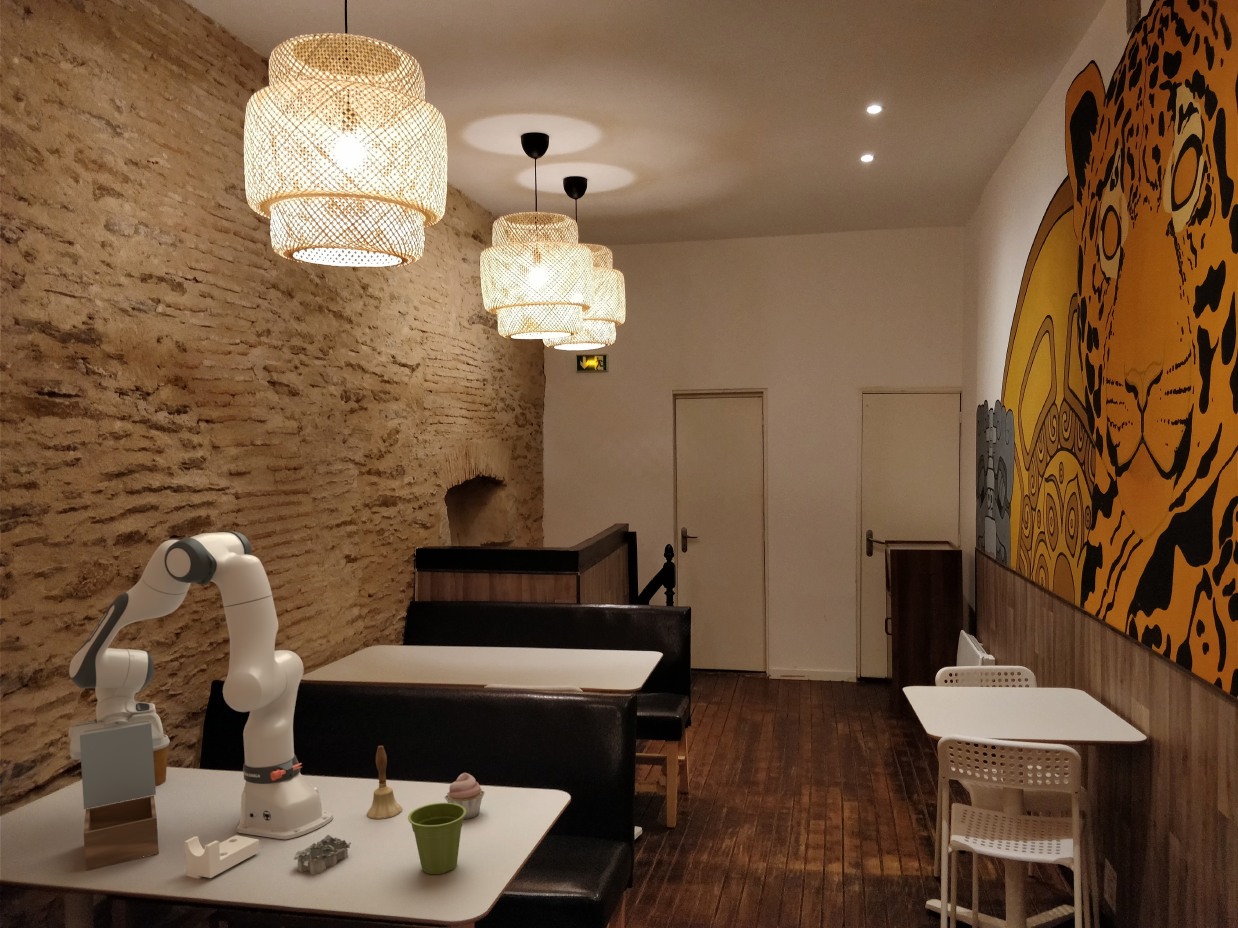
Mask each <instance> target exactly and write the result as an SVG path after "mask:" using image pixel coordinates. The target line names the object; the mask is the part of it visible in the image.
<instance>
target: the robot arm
mask: <svg viewBox="0 0 1238 928" xmlns="http://www.w3.org/2000/svg"><path fill="white" fill-rule="evenodd" d="M251 545H252V544H251V543H250V541H249V540H248V538H247V537H246V536H245V535H244V534H243V533H240V532H239V531H235V530H234V531H232V530H222V531H219V532H218V531H217V532H211V533H210V532H205V533H200V534H196V535H194V536H193V535H192V536H190V537H183V538H182V539H181V538H180V539H169V540H166V541H163V542H162V543H160V545H159V546H158V547H157V549H156V550H155V551H154V553H153V554H152V556H151V557H150V559H149V561H148V562H147V564H146V566H145V569H144V570H143V573H142V574H141V577H140V578H139V580H138V581H137V582H136V584H135V585H133V587H131V588H130V589H128V590H127V591H126V592H123V593H121V594H118V595H117V596H116V597H115V599H114V600H113V601H112V602H111V603H110V605H109V607H108V608H107V609H106V610H105V612H104V613H103V615H102V616H101V618H100V620H99V621H98V622H97V624H96V626H95V627H94V629H93V630H92V632H91V633H90V634H89V636H88V638H87V639H86V641H85V642H84V643H83V644H82V645H81V647H80V648H79V649H78V650H77V651H76V652H75V654H73V655H74V656H73V657H72V658H71V661H70V664H69V668H68V676H69V679H70V681H72V683H74V684H75V685H76V686H77V687H78V688H80V689H95V692H94V693H95V697H96V699H97V702H96V706H95V714H96V716H95V718H96V719H91V720H86V721H79V722H76V723H75V724H73V725H71V726H70V727H69V729H68V731H67V732H68V738H69V740H70V743H69V745H70V746H69V755H70V758H71V759H72V760H75V761H76V760H78V761H79V760H81V748H80V735H84V734H89V733H95V732H101V731H107V730H113V729H119V728H125V727H131V726H137V725H143V724H148V723H151V727H152V742H153V746H156V745H160V744H161V743H162V742H163V741H164V735H165V734H164V729H163V724H162V720H161V718H160V716H159V715H158V713H157V710H156V705H155V703H152V702H144V701H143V702H142V701H136V700H135V695H136V693H140V692H141V691H142V690H143V689H145V688H146V687H147V686H149V684H150V683H151V682H152V680H153V678H154V675H155V661H154V659H153V658H152V655H151V653H149V652H148V651H147V650H141V649H130V648H126V649H125V648H111V647H109V646H110V645H111V643H112V642H113V640H114V639H115V637H116V635H117V634H118V633H119V632H120V631H121V629H123V628H124V627H126V626H128V625H130V624H133V623H136V622H140V621H145V620H151V619H157V618H161V617H165V616H167V615H170V614H172V613H174V612H175V611H176V610H177V609H178V608H179V607H180V606H181V605H182V604H183V602H184V600H185V598H186V597H187V594H188V592H189V589H190V586H191V584H197V585H202V586H206V585H207V584H209V583H210V582H212V583H213V584H215V585H216V586H217V587H218V589H219V592H220V594H221V595H220V596H221V599H222V604H223V606H222V607H223V610H224V615H225V620H226V625H227V630H228V636H229V661H228V663H229V665H228V670H227V671H228V672H227V676H226V679H225V680H224V682H223V685H222V694H223V695H222V696H223V699H224V701H225V703H226V704H227V706H229V707H230V709H232V710H234V711H236V712H240V713H247V712H249V716H248V718H247V721H246V723H245V725H244V729H243V733H242V736H243V748H244V749H243V751H244V762H243V765H242V766H243V767H242V773H243V780H244V782H245V783H244V787H243V790H242V792H241V801H240V823H239V824H238V826H237V827H236V832H237V833H239V834H244V835H245V834H246V835H251V836H259V837H266V838H271V839H276V840H277V839H279V840H290V839H293V838H298V837H300V836H303V835H307V834H309V833H311V832H313V831H315V830H318V829H319V828H321V827H323V826H326V825H327V824H329V823H330V822H331V821H332V820H333V819H334V815H333V814H334V813H332V812H330V811H328V810H326V809H324V808H323V807H322V800H321V796H320V794H319V790H318V787H316V786H312V785H311V784H310V782H309V781H308V780H307V779H306V778H305V776H303V775H302V774H301V769H302V768H303V766H301V765H302V764H303V763H302V762H300V763H299V761H298V758H297V755H296V754H295V748H294V746H295V745H294V715H295V709H296V708H295V707H296V701H297V696H298V691H299V686H300V684H301V683H300V682H301V680H302V678H303V675H304V671H305V670H304V663H303V661H302V659H301V657H300V656H299V654H297V653H296V652H294V651H291V650H289V649H282V650H281V649H279V650H275V645H276V637H277V634H278V631H279V620H278V615H277V611H276V607H275V603H274V602H275V601H274V597H273V592H272V588H271V584H270V582H269V578H268V575H267V572H266V571H265V568H264V566H263V564H262V562H261V560H260V559H259V558H258V556H257V557H256V556H255V555H252V547H251ZM163 734H164V735H163Z"/></svg>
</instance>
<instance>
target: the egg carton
mask: <svg viewBox="0 0 1238 928" xmlns="http://www.w3.org/2000/svg"><path fill="white" fill-rule="evenodd" d="M351 845H352V843H351V842H348V843H347V841H346V840H345V839H341V838H338V837H334V836H332V835H330V834H327V835H326V836H324V838H322V839H320V841H319V840H318V841H316V843H315V842H313V843H312V844H311V845H310V846H308V847H306V848H305V849H303V850H298V851H296V852H295V855H294V857H293V860H294V861H296V860H297V870H298V872H301V873H302V872H305V871H310V875H316V874H319V873H320V874H321V873H324V872H325V871H326V868H328V867H331V866H332V867H334V866H336V865H337V861H339V860H346V859H348V858H349V855H348V853H349V852H348V849H350V848H351Z"/></svg>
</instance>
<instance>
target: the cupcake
mask: <svg viewBox="0 0 1238 928" xmlns="http://www.w3.org/2000/svg"><path fill="white" fill-rule="evenodd" d="M448 789H449V792H446V795H445V796H444V799H445V801H446V803H455V804H459V805H461V806H463V807H464V808H465V809H466V814H465V816H464V817H463V820H467V819H471V818H474V817H477V816H478V815H479V813H480V810H481V805H482V799H483V798H484V795H485V793H486V792H485V791H484V790H483V789H482V788H481V785H480V784H479V782H478V781H476V778H475V777H474V776H473V775H471V774H470V773H467V772H463V773H461V774H460V775H458V777H457V778H456V780H455V781H453V782H452V783H451V784H450V785H449V788H448Z"/></svg>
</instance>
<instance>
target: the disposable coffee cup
mask: <svg viewBox="0 0 1238 928" xmlns="http://www.w3.org/2000/svg"><path fill="white" fill-rule="evenodd" d="M163 735H164V741H163V742H162V743H161V744H160V745H156V746H153V758H154V773H155V787H156V786H160V785H162V784H164V783H166V780H167V769H168V754H169V745H170V742H171V740H170V738H169V736H168V735H167V734H164V733H163Z"/></svg>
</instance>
